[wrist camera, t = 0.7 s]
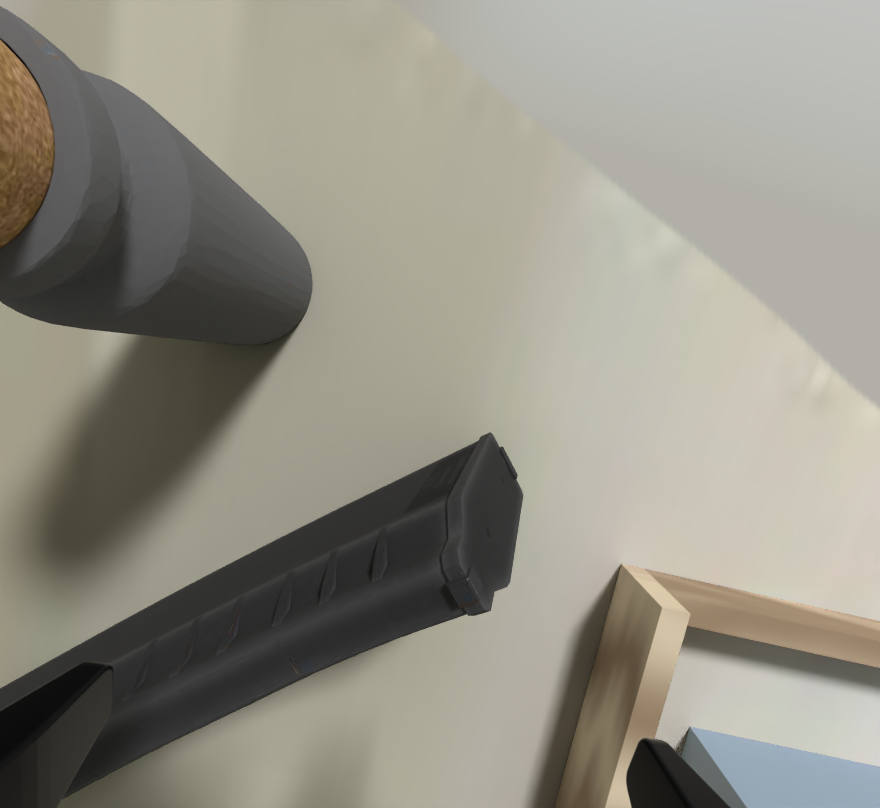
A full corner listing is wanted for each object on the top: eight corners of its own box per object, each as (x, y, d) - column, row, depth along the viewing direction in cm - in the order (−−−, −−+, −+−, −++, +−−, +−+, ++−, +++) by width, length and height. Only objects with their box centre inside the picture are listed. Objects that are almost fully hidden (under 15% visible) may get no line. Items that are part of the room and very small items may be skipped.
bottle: (268, 370, 21) (-127, 385, 6) (162, 297, 21) (-525, 127, 6) (338, 267, 21) (95, 19, 6) (231, 190, 20) (-314, -278, 6)
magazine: (604, 430, 13) (-1515, 1797, 5) (654, 530, 13) (-1276, 1978, 5) (440, 428, 29) (-98, 736, 21) (463, 472, 29) (-60, 792, 22)
